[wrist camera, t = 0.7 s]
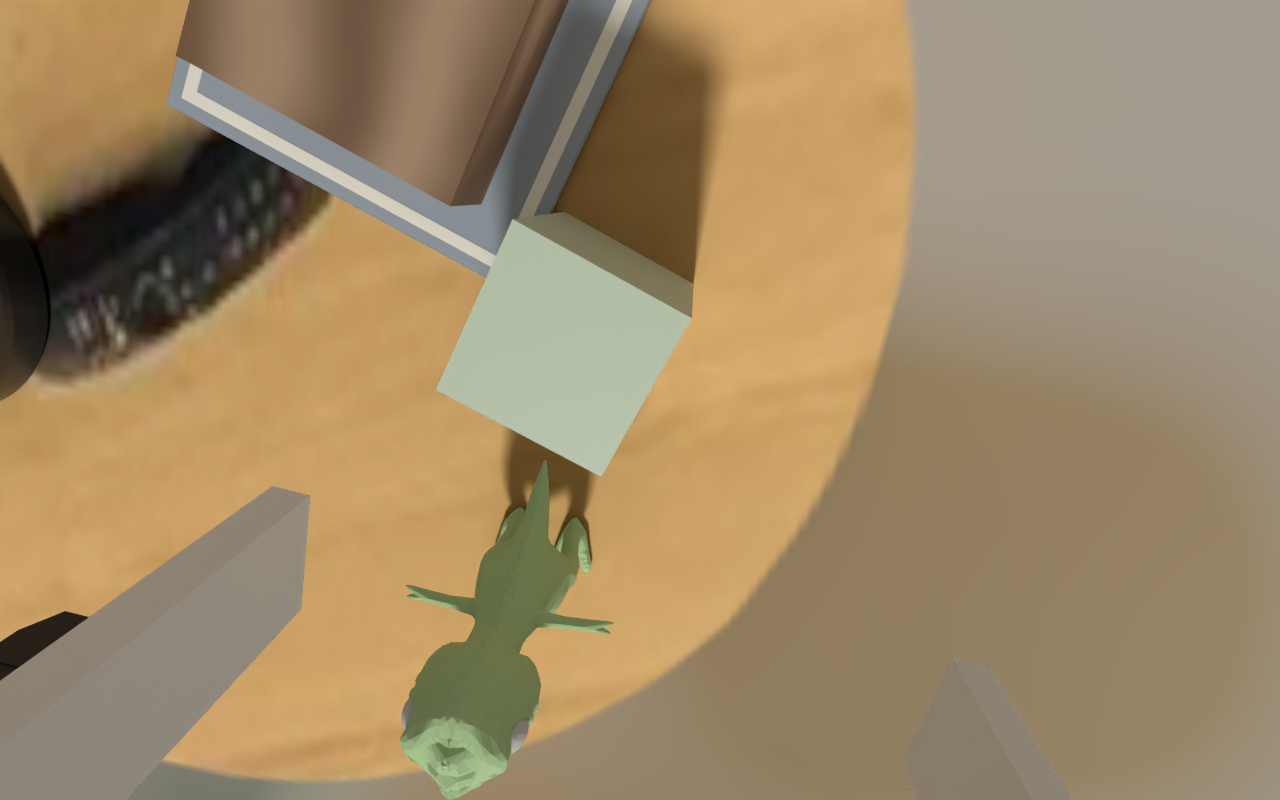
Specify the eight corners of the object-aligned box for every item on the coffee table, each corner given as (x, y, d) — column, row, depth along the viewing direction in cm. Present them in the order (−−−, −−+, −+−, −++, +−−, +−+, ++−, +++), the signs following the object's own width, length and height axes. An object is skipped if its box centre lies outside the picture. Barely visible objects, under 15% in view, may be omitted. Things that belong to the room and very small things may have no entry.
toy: (532, 605, 37) (435, 862, 23) (452, 500, 36) (293, 710, 21) (634, 553, 36) (598, 795, 22) (555, 440, 34) (460, 624, 20)
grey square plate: (176, 105, 30) (165, 103, 30) (291, -346, 25) (281, -359, 24) (515, 290, 32) (512, 292, 31) (697, -99, 26) (697, -106, 26)
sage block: (504, 338, 33) (435, 390, 24) (564, 211, 30) (512, 219, 22) (626, 403, 33) (601, 476, 25) (693, 283, 31) (691, 318, 22)
